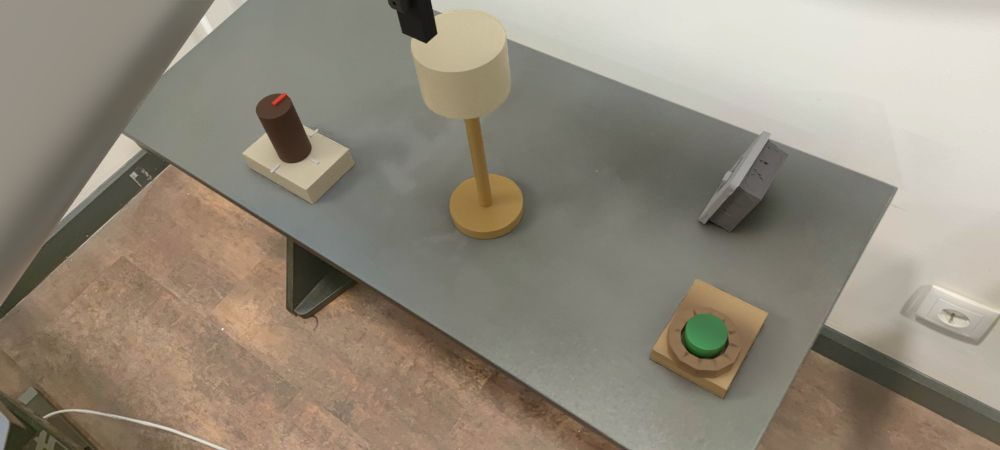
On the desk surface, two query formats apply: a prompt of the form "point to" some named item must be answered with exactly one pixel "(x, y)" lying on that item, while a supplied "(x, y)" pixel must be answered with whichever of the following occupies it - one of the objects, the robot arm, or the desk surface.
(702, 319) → the power button
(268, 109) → the dimmer knob
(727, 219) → the electrical switch
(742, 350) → the power button base
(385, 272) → the desk surface
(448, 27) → the desk lamp
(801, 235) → the desk surface
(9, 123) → the robot arm
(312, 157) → the dimmer panel
